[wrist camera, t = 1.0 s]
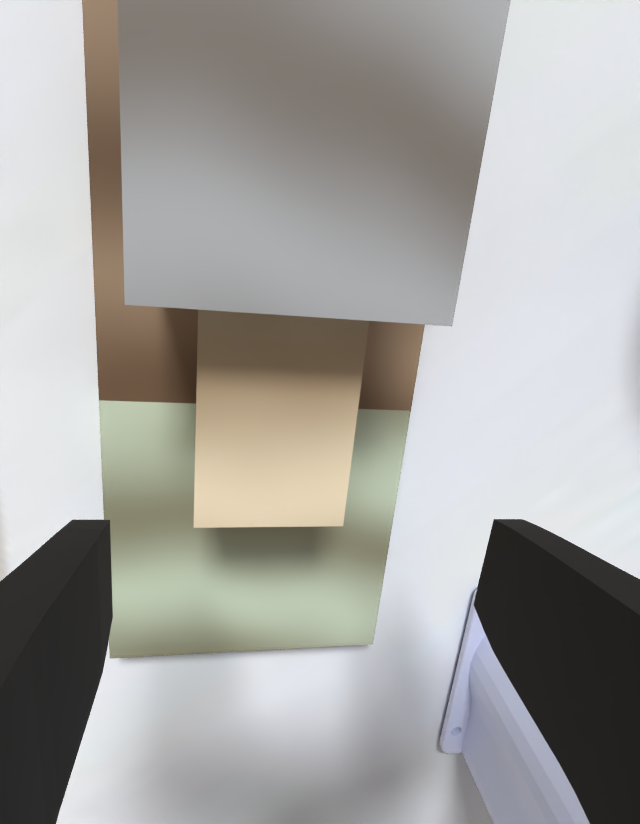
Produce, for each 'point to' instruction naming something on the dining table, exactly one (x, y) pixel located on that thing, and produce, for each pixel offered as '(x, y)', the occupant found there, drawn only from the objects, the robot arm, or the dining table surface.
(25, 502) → the dining table surface
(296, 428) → the maple bar
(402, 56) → the tunnel deck
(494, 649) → the robot arm
